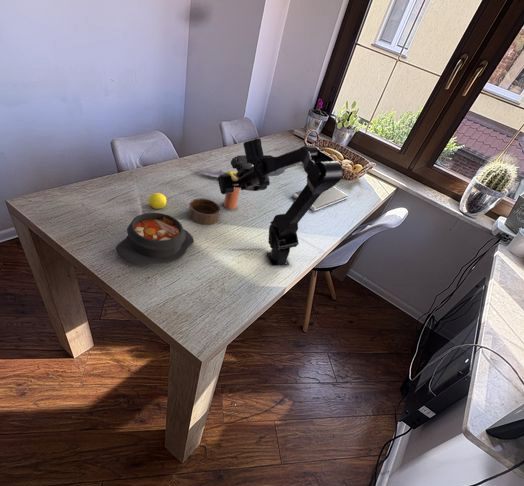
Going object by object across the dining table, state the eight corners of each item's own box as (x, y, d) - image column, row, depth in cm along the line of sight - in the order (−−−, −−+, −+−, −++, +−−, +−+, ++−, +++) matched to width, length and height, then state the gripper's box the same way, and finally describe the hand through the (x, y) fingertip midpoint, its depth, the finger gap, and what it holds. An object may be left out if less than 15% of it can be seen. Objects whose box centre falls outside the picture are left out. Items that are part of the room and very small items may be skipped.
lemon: (153, 213, 126) (154, 200, 122) (144, 205, 128) (144, 192, 125) (170, 209, 131) (171, 195, 127) (161, 201, 133) (161, 188, 129)
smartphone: (290, 196, 159) (292, 193, 158) (326, 185, 176) (327, 181, 174) (313, 212, 154) (315, 208, 152) (347, 198, 170) (349, 195, 169)
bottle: (234, 211, 139) (240, 183, 132) (222, 208, 139) (227, 180, 131) (236, 205, 143) (242, 178, 135) (224, 202, 143) (229, 174, 135)
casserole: (167, 222, 125) (168, 200, 119) (206, 250, 119) (209, 228, 113) (102, 247, 108) (99, 223, 102) (143, 281, 102) (143, 258, 96)
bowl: (221, 226, 130) (223, 215, 127) (191, 225, 126) (192, 214, 123) (214, 209, 137) (216, 198, 134) (185, 208, 133) (186, 197, 130)
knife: (195, 177, 151) (253, 187, 157) (195, 171, 149) (254, 181, 155) (195, 168, 157) (252, 178, 162) (196, 162, 155) (253, 173, 160)
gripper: (270, 151, 127) (248, 166, 140) (224, 152, 117) (204, 168, 130) (277, 183, 128) (254, 195, 142) (232, 187, 119) (212, 199, 132)
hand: (232, 189), depth 136 cm, fingers open, 9 cm apart
